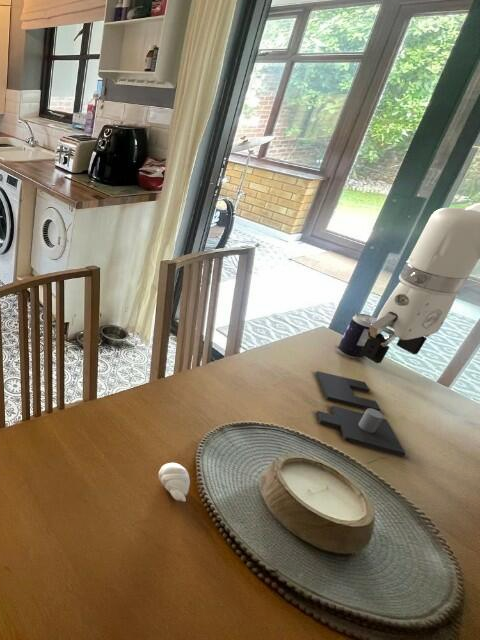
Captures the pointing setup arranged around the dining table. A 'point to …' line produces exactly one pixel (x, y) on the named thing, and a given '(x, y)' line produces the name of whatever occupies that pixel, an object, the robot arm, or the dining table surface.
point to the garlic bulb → (175, 480)
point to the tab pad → (358, 434)
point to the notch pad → (345, 390)
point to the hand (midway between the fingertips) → (388, 354)
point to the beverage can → (356, 335)
